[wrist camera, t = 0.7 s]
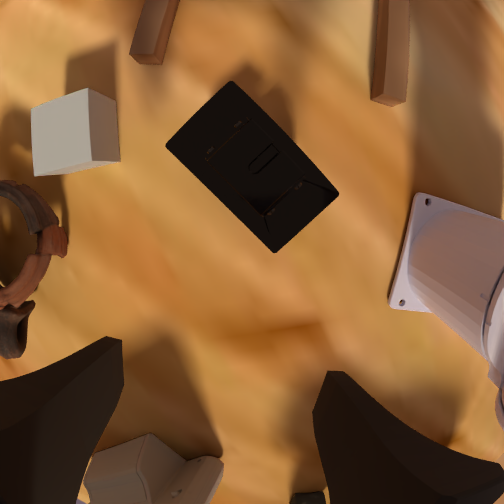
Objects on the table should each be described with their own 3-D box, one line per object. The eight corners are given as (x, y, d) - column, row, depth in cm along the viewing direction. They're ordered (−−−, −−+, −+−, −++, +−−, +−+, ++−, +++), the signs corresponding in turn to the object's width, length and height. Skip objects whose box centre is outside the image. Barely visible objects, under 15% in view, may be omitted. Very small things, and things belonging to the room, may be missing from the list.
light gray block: (116, 101, 17) (87, 87, 13) (121, 161, 18) (91, 160, 14) (65, 116, 17) (31, 108, 13) (69, 173, 18) (34, 176, 14)
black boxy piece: (360, 202, 19) (392, 213, 15) (278, 279, 20) (287, 311, 16) (224, 61, 17) (218, 31, 12) (139, 142, 18) (110, 137, 13)
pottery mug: (-25, 209, 18) (-68, 183, 11) (69, 191, 22) (54, 154, 15) (-6, 351, 18) (-45, 378, 11) (91, 336, 22) (82, 362, 15)
